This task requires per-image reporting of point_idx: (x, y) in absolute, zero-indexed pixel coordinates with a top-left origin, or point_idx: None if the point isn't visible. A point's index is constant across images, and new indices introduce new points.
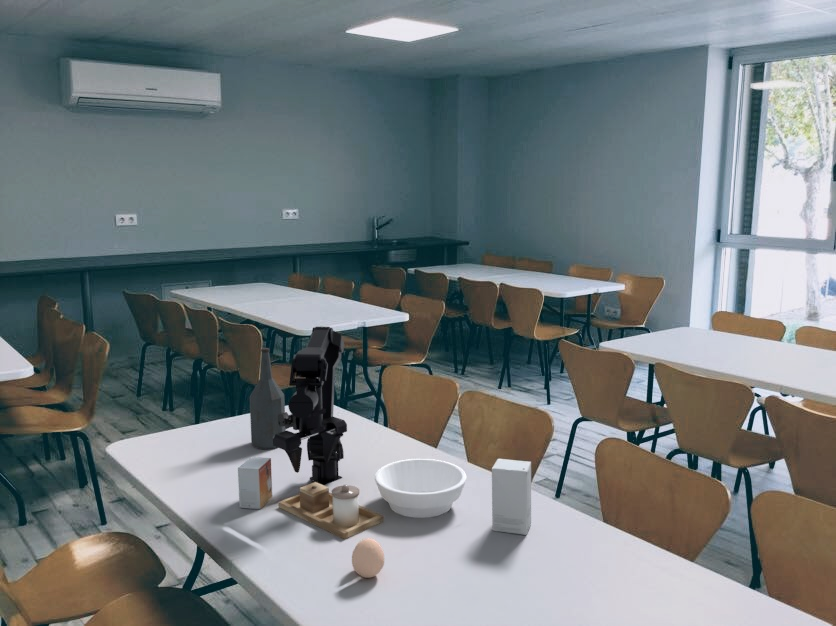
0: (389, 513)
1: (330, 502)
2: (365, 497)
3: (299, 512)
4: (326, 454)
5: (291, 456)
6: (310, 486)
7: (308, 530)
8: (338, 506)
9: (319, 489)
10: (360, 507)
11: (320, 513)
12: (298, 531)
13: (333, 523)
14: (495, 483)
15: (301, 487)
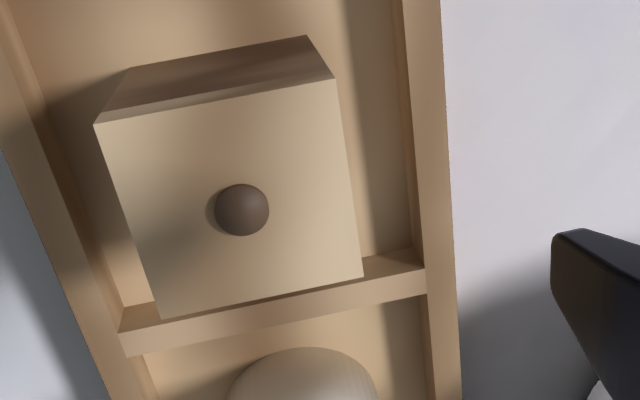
0: (560, 389)
1: (380, 133)
2: (634, 150)
3: (46, 246)
4: (634, 365)
5: None
6: (222, 160)
7: (69, 352)
8: None
9: (266, 270)
10: (445, 388)
11: (181, 344)
12: (2, 335)
13: (226, 397)
14: None
15: (118, 128)
